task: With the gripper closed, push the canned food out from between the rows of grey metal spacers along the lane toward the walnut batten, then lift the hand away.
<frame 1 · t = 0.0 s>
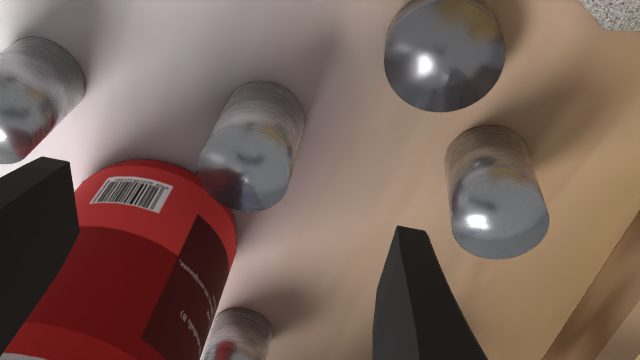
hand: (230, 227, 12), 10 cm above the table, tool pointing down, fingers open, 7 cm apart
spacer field: (252, 239, 26), on the table
hex nut: (441, 44, 20), on the table
canned food: (161, 217, 27), on the table
stop batten: (595, 305, 26), on the table
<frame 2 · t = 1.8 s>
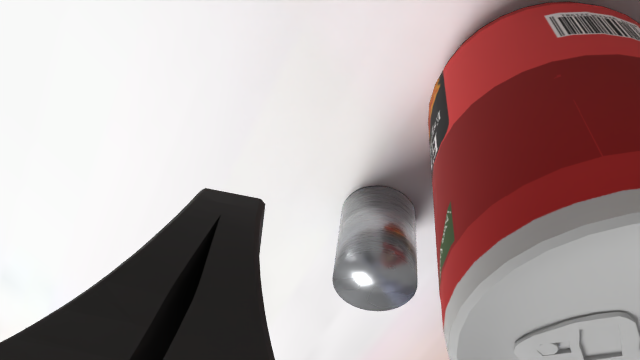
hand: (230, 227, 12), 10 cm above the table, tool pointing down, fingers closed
canned food: (537, 96, 20), on the table
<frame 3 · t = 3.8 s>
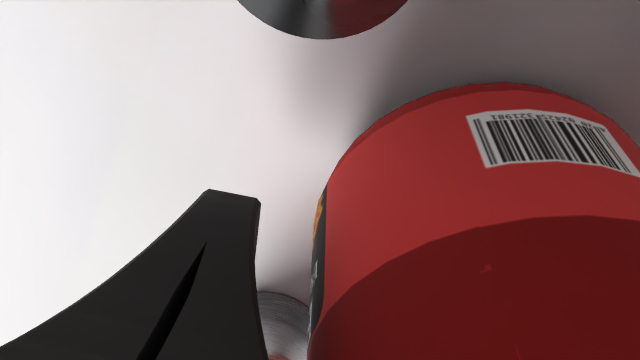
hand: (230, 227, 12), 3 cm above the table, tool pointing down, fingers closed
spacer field: (634, 230, 15), on the table
canned food: (466, 200, 14), on the table, touching gripper
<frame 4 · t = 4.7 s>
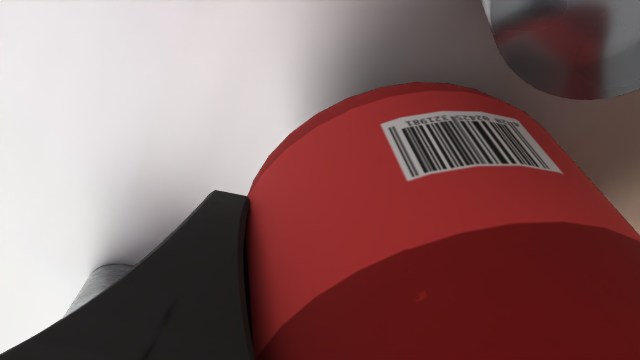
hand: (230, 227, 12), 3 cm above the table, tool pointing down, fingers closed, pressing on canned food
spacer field: (449, 198, 15), on the table
canned food: (389, 203, 14), point 1 cm above the table, touching gripper
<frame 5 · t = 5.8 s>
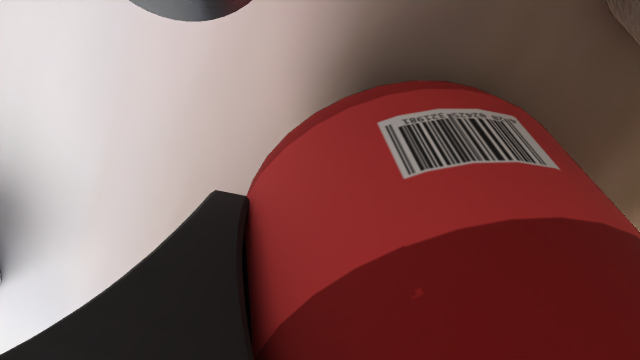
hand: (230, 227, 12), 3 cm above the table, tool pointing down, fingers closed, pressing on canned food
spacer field: (223, 152, 15), on the table
canned food: (389, 202, 14), point 1 cm above the table, touching gripper
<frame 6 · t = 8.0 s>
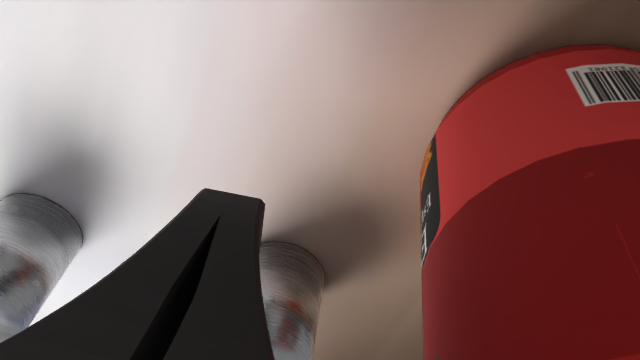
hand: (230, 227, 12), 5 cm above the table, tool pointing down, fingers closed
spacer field: (304, 116, 16), on the table
canned food: (557, 157, 16), on the table
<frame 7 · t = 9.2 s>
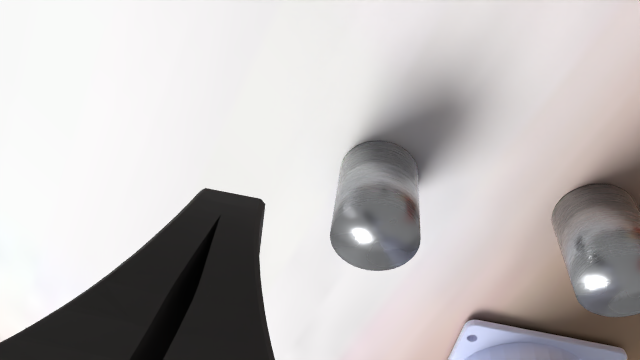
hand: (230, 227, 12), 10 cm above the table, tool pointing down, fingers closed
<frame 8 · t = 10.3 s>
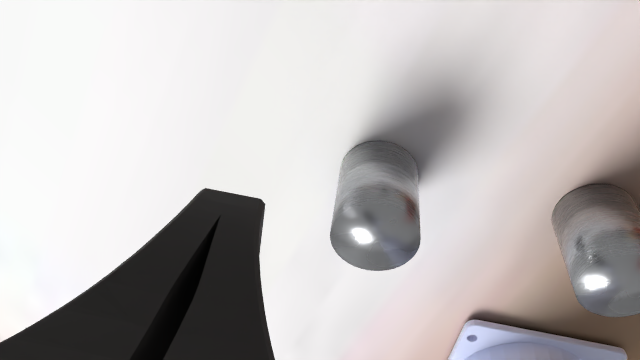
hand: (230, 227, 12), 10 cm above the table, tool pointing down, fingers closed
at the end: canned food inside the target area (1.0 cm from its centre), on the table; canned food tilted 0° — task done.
